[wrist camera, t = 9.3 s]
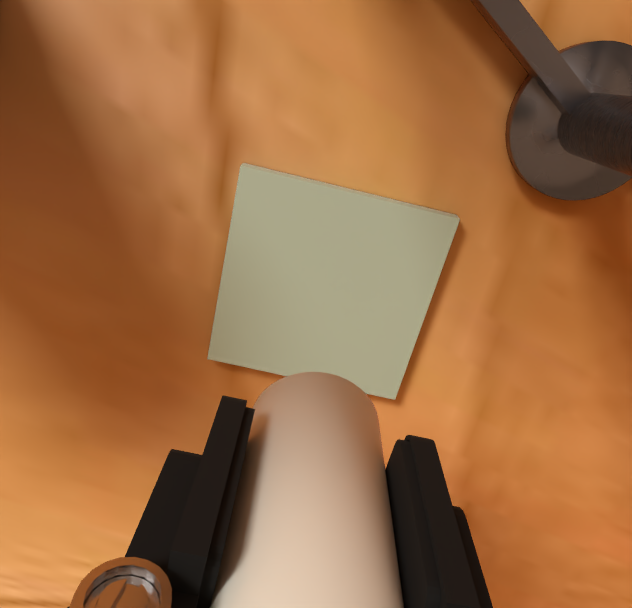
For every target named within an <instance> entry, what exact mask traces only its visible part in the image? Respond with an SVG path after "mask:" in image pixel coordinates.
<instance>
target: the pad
mask: <svg viewBox="0 0 632 608" xmlns="http://www.w3.org/2000/svg"><path fill="white" fill-rule="evenodd" d="M459 221H460V218H459V217H458V216H457V215H455V214H451V213H447V212H443V211H439V210H435V209H431V208H427V207H423V206H418V205H414V204H410V203H406V202H402V201H398V200H394V199H390V198H386V197H382V196H378V195H373V194H369V193H365V192H361V191H357V190H353V189H349V188H345V187H341V186H337V185H332V184H328V183H324V182H320V181H316V180H312V179H308V178H304V177H300V176H296V175H292V174H287V173H283V172H279V171H275V170H271V169H267V168H263V167H259V166H255V165H251V164H247V163H242V165H241V166H240V171H239V177H238V183H237V189H236V195H235V201H234V206H233V212H232V218H231V224H230V230H229V235H228V241H227V247H226V253H225V259H224V265H223V270H222V276H221V282H220V288H219V294H218V300H217V305H216V311H215V317H214V323H213V329H212V334H211V340H210V346H209V352H208V358H207V359H210V360H214V361H219V362H224V363H228V364H233V365H237V366H242V367H247V368H251V369H256V370H260V371H265V372H270V373H274V374H279V375H283V376H290V375H293V374H297V373H302V372H323V373H329V374H333V375H337V376H340V377H342V378H344V379H347V380H348V381H350V382H352V383H354V384H355V385H356V386H358V387H359V388H360V389H362V390H363V391H364V392H365V393H366V394H371V395H375V396H380V397H384V398H389V399H393V400H395V399H396V396H397V393H398V390H399V387H400V385H401V382H402V379H403V376H404V374H405V371H406V368H407V365H408V362H409V360H410V357H411V354H412V351H413V349H414V346H415V343H416V340H417V337H418V335H419V332H420V329H421V326H422V324H423V321H424V318H425V315H426V312H427V310H428V307H429V304H430V301H431V299H432V296H433V293H434V290H435V287H436V285H437V282H438V279H439V276H440V274H441V271H442V268H443V265H444V262H445V260H446V257H447V254H448V251H449V249H450V246H451V243H452V240H453V238H454V235H455V232H456V229H457V226H458V224H459Z"/></svg>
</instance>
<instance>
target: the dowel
mask: <svg viewBox="0 0 632 608" xmlns="http://www.w3.org/2000/svg"><path fill="white" fill-rule="evenodd" d="M253 409H255V412H254V416H253V421H252V425H251V430H250V434H249V438H248V443H247V447H246V452H245V456H244V461H243V465H242V470H241V474H240V478H239V483H238V487H237V492H236V496H235V501H234V505H233V510H232V514H231V518H230V523H229V527H228V532H227V536H226V541H225V545H224V549H223V554H222V558H221V563H220V567H219V572H218V576H217V580H216V585H215V589H214V594H213V598H212V602H211V607H210V608H404V604H403V597H402V590H401V582H400V575H399V568H398V560H397V553H396V545H395V538H394V531H393V523H392V516H391V509H390V501H389V494H388V486H387V479H386V472H385V464H384V457H383V449H382V442H381V435H380V427H379V420H378V415H377V412H376V409H375V407H374V405H373V403H372V401H371V400H370V398H369V397H368V396H367V395H366V393H365V392H364V391H363V390H362V389H360V388H359V387H358V386H356V385H355V384H354V383H352V382H350V381H348V380H347V379H344V378H342V377H340V376H337V375H333V374H329V373H323V372H302V373H297V374H293V375H290V376H286V377H284V378H282V379H280V380H278V381H276V382H274V383H273V384H271V385H270V386H269V387H268V388H266V389H265V390H264V391H263V392H262V393H261V394H260V396H259V397H258V399H257V400H256V402H255V404H254V406H253Z"/></svg>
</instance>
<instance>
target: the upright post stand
mask: <svg viewBox="0 0 632 608" xmlns="http://www.w3.org/2000/svg"><path fill="white" fill-rule="evenodd" d="M470 1H471V2H472V3H473V5H474V6H475V7H476V8H477V10H478V11H479V12H480V13H481V15H482V16H483V17H484V18H485V20H486V21H487V22H488V23H489V25H490V26H491V27H492V28H493V30H494V31H495V32H496V33H497V35H498V36H499V37H500V38H501V40H502V41H503V42H504V43H505V45H506V46H507V47H508V48H509V50H510V51H511V52H512V53H513V55H514V56H515V57H516V59H517V60H518V61H519V62H520V64H521V65H522V66H523V67H524V69H525V70H526V71H527V72H528V74H529V76H528V77H527V78H526V79H525V81H524V82H523V83H522V85H521V86H520V88H519V90H518V91H517V93H516V95H515V97H514V99H513V102H512V104H511V107H510V110H509V113H508V117H507V123H506V146H507V151H508V155H509V157H510V160H511V163H512V165H513V166H514V168H515V170H516V171H517V173H518V174H519V175H520V177H521V178H522V179H523V180H524V181H525V182H527V183H528V184H529V185H531V186H532V187H533V188H535V189H537V190H538V191H540V192H542V193H544V194H546V195H548V196H551V197H554V198H557V199H563V200H585V199H590V198H594V197H597V196H600V195H603V194H606V193H608V192H610V191H612V190H614V189H616V188H618V187H619V186H621V185H623V184H624V183H625V182H627V181H628V180H629V179H631V178H632V46H631V45H628V44H625V43H621V42H616V41H594V42H585V43H580V44H576V45H572V46H570V47H567V48H565V49H562V50H560V51H557V49H556V48H555V47H554V46H553V44H552V43H551V42H550V40H549V39H548V38H547V36H546V35H545V34H544V33H543V31H542V30H541V29H540V27H539V26H538V25H537V23H536V22H535V21H534V19H533V18H532V17H531V16H530V14H529V13H528V12H527V10H526V9H525V8H524V6H523V5H522V4H521V2H520V1H519V0H470Z"/></svg>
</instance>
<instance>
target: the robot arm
mask: <svg viewBox="0 0 632 608" xmlns="http://www.w3.org/2000/svg"><path fill="white" fill-rule="evenodd" d="M246 403H247V400H242V399H237V398H232V397H228V396H222V398H221V401H220V404H219V407H218V410H217V413H216V416H215V419H214V422H213V425H212V428H211V431H210V434H209V437H208V440H207V443H206V446H205V449H204V452H203V455H199V454H194V453H189V452H184V451H179V450H174V449H172V450H171V451H170V452H169V454H168V456H167V459H166V461H165V464H164V466H163V468H162V471H161V473H160V475H159V478H158V480H157V482H156V485H155V487H154V489H153V492H152V494H151V496H150V499H149V501H148V504H147V506H146V508H145V511H144V513H143V515H142V518H141V520H140V522H139V525H138V527H137V529H136V532H135V534H134V536H133V539H132V541H131V544H130V546H129V548H128V551H127V553H126V555H125V557H121V558H117V559H114V560H110V561H107V562H105V563H103V564H101V565H100V566H98V567H96V568H95V569H93V570H92V571H91V572H90V573H89V574H88V575H87V576H86V577H85V578H84V579H83V580H82V581H81V583H80V584H79V586H78V588H77V590H76V592H75V594H74V596H73V599H72V602H71V604H70V606H69V607H67V608H210V607H211V602H212V598H213V594H214V589H215V585H216V580H217V576H218V572H219V567H220V563H221V558H222V554H223V549H224V545H225V541H226V536H227V532H228V527H229V523H230V518H231V514H232V510H233V505H234V501H235V496H236V492H237V487H238V483H239V478H240V474H241V470H242V465H243V461H244V456H245V452H246V447H247V443H248V438H249V434H250V430H251V425H252V421H253V416H254V412H255V409H252V408H247V407H246ZM385 472H386V479H387V486H388V494H389V501H390V509H391V516H392V523H393V531H394V538H395V545H396V553H397V560H398V568H399V575H400V582H401V590H402V597H403V604H404V608H493V606H492V603H491V599H490V596H489V593H488V589H487V586H486V583H485V579H484V576H483V573H482V569H481V566H480V563H479V560H478V556H477V553H476V550H475V546H474V543H473V540H472V536H471V533H470V530H469V526H468V523H467V520H466V516H465V514H464V512H463V510H462V509H461V508H460V507H456V506H452V503H451V499H450V496H449V492H448V489H447V485H446V481H445V478H444V474H443V471H442V467H441V463H440V460H439V456H438V453H437V449H436V445H435V443H434V441H433V440H431V439H427V438H422V437H417V436H412V435H407V436H406V438H405V440H397V441H396V443H395V445H394V448H393V451H392V454H391V456H390V459H389V462H388V464H387V467H386V470H385Z"/></svg>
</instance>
